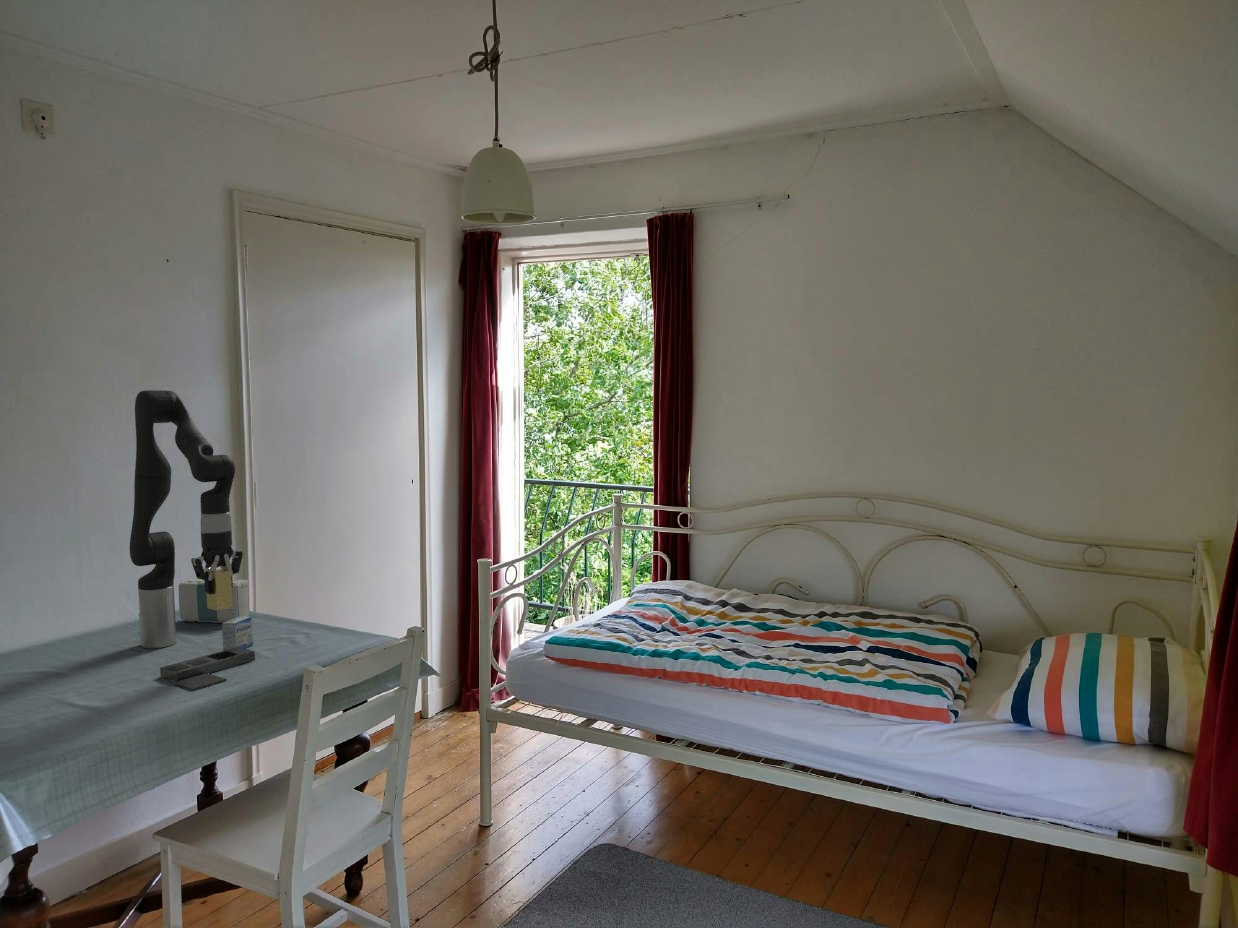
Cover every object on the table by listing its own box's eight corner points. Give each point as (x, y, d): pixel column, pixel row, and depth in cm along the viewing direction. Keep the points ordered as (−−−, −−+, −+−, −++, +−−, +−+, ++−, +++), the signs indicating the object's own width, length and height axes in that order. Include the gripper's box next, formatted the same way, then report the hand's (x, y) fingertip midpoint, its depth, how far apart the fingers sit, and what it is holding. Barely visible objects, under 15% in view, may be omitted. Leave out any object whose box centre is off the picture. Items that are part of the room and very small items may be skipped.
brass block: (207, 608, 233) (205, 571, 232) (222, 604, 237) (221, 568, 236) (217, 610, 231) (215, 573, 230) (232, 606, 235) (230, 570, 234)
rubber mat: (172, 684, 220) (172, 682, 220) (206, 674, 227) (206, 672, 227) (192, 690, 215) (192, 688, 215) (226, 680, 222) (226, 678, 222)
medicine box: (236, 653, 246) (235, 623, 245) (222, 652, 247) (221, 622, 246) (253, 645, 254) (252, 616, 253) (240, 644, 255) (238, 615, 254)
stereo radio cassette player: (178, 623, 280) (175, 561, 278) (195, 616, 288) (192, 557, 286) (237, 625, 276) (234, 563, 274) (252, 618, 284) (250, 558, 283)
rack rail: (160, 676, 226) (160, 667, 225) (237, 655, 244) (237, 646, 244) (177, 682, 221) (177, 672, 221) (255, 660, 239) (254, 650, 239)
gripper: (232, 524, 240) (235, 585, 242) (182, 531, 228) (185, 595, 230) (248, 527, 236) (251, 588, 237) (198, 534, 224) (201, 599, 226)
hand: (219, 591), depth 234 cm, fingers closed on brass block, 4 cm apart
